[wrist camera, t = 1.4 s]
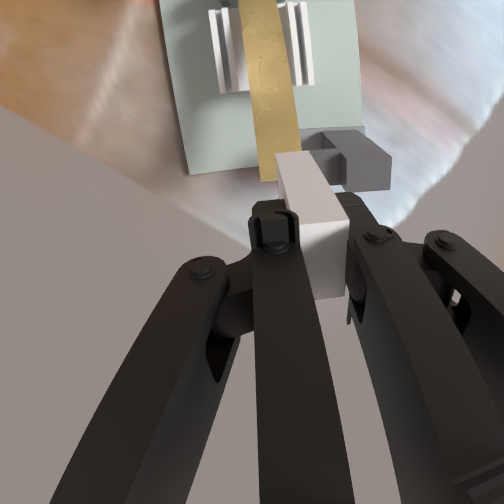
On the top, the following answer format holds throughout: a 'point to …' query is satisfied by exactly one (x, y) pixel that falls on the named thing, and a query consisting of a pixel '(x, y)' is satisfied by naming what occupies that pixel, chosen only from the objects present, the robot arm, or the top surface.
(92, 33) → the top surface
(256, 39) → the strap
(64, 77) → the top surface
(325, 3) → the board
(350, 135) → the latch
